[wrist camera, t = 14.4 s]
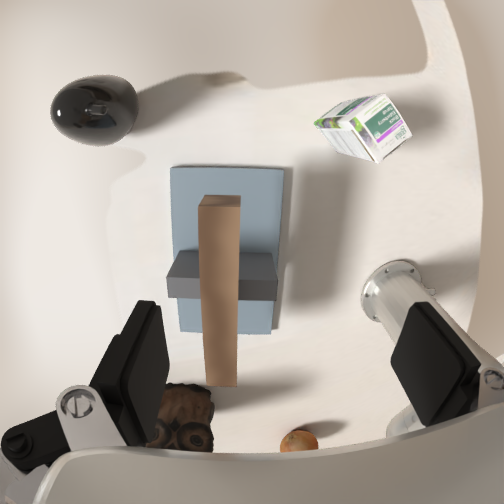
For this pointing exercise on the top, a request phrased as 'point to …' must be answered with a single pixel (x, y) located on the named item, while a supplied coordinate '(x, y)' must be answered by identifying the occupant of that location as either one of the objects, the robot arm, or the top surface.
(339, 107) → the syrup box
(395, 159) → the top surface
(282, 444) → the onion
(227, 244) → the walnut bar
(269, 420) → the top surface
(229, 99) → the top surface
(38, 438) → the robot arm
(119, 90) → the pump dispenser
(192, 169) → the balance stand
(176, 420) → the owl
